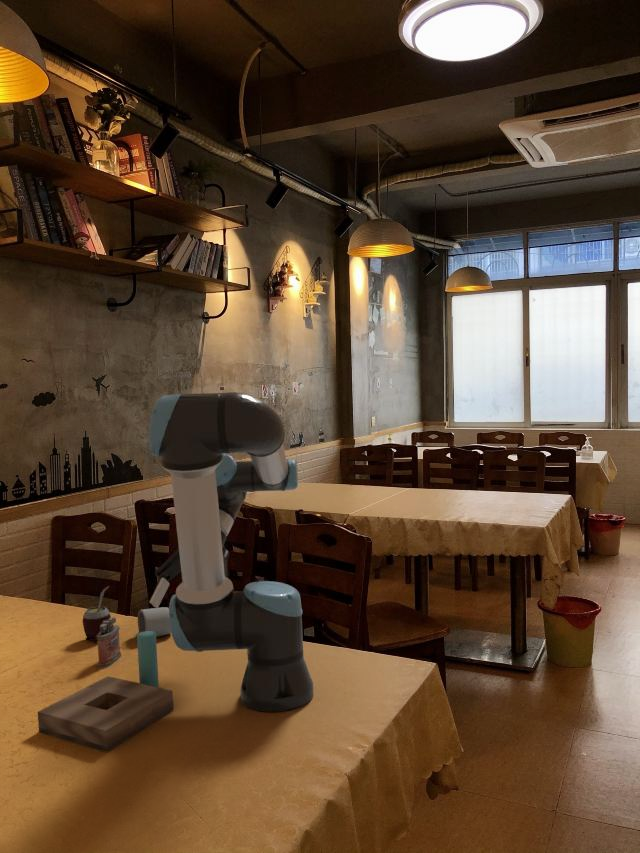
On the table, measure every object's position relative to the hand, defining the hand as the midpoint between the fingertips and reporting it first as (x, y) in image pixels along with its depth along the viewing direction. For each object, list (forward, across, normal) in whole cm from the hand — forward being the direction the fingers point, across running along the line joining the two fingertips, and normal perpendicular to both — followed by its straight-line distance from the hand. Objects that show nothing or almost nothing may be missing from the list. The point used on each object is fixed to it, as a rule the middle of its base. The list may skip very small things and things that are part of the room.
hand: (175, 608), depth 160 cm
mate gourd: (+5, +34, -16) cm, 38 cm away
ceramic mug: (-1, +22, -22) cm, 31 cm away
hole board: (+28, -3, +8) cm, 29 cm away
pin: (+18, 0, -3) cm, 18 cm away
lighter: (+12, +20, -9) cm, 25 cm away
